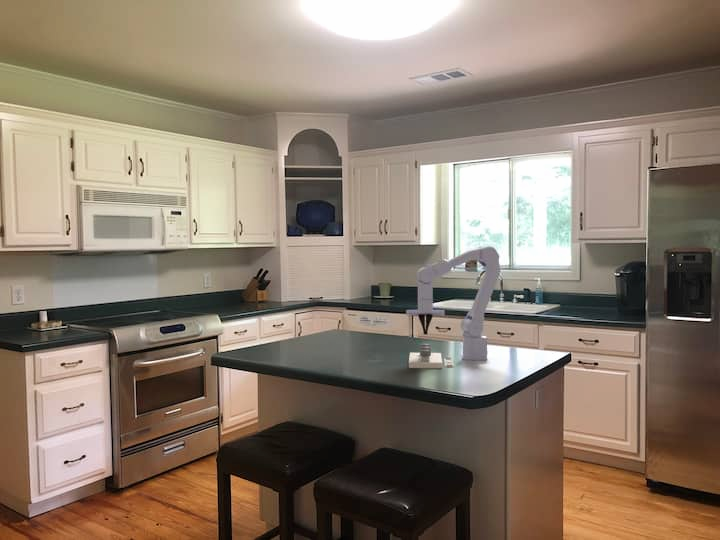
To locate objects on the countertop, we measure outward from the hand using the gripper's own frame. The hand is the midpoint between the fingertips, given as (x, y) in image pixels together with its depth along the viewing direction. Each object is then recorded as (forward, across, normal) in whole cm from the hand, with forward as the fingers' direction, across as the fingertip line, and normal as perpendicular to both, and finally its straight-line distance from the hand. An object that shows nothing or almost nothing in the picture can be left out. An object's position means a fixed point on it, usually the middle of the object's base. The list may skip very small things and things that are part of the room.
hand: (425, 334), depth 225 cm
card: (+10, -9, +6) cm, 14 cm away
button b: (+8, 0, +6) cm, 10 cm away
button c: (+8, 0, +12) cm, 14 cm away
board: (+10, 0, +6) cm, 12 cm away
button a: (+8, 0, 0) cm, 8 cm away
